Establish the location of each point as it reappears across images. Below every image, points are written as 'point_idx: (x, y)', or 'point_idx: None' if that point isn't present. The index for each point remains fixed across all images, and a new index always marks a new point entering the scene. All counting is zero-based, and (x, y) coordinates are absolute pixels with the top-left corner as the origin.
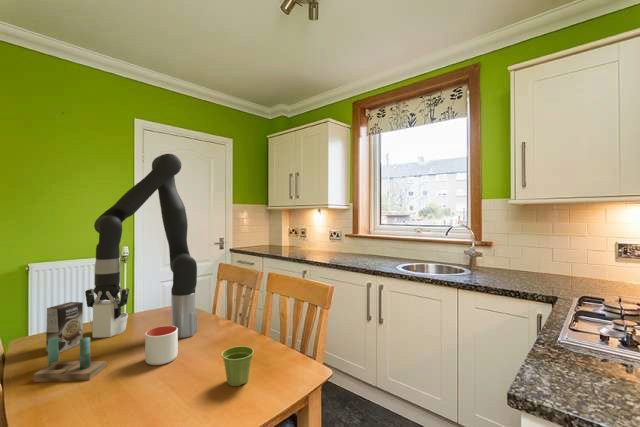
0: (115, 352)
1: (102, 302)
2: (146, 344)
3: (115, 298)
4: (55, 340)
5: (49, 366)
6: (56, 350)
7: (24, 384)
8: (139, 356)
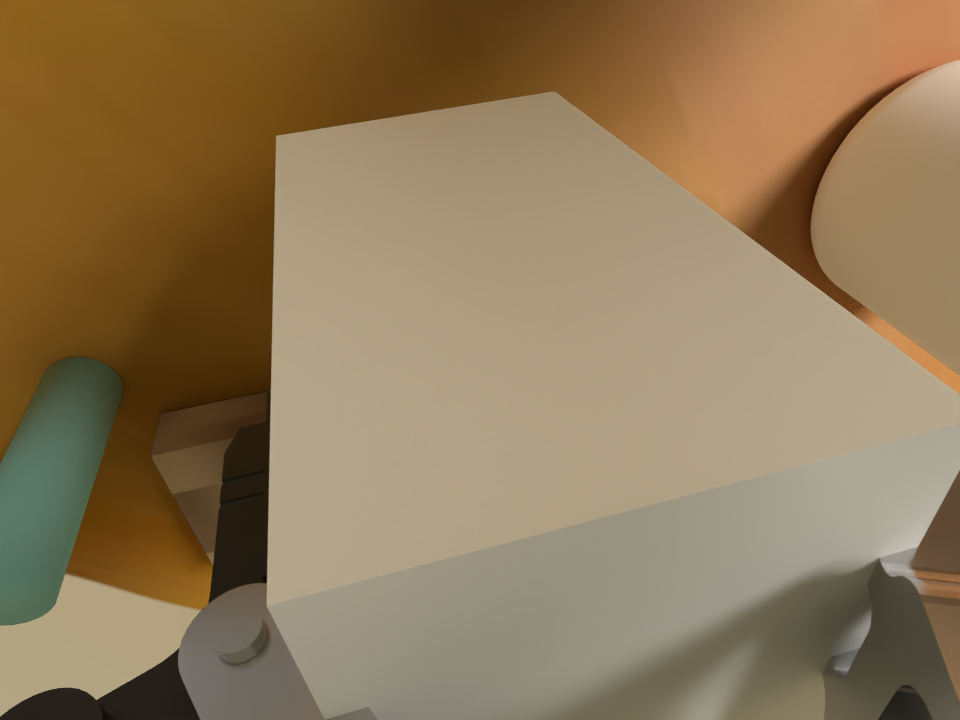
0: (436, 63)
1: (426, 713)
2: (933, 355)
3: (947, 703)
4: (60, 587)
5: (212, 511)
6: (88, 487)
7: (199, 561)
8: (721, 136)
